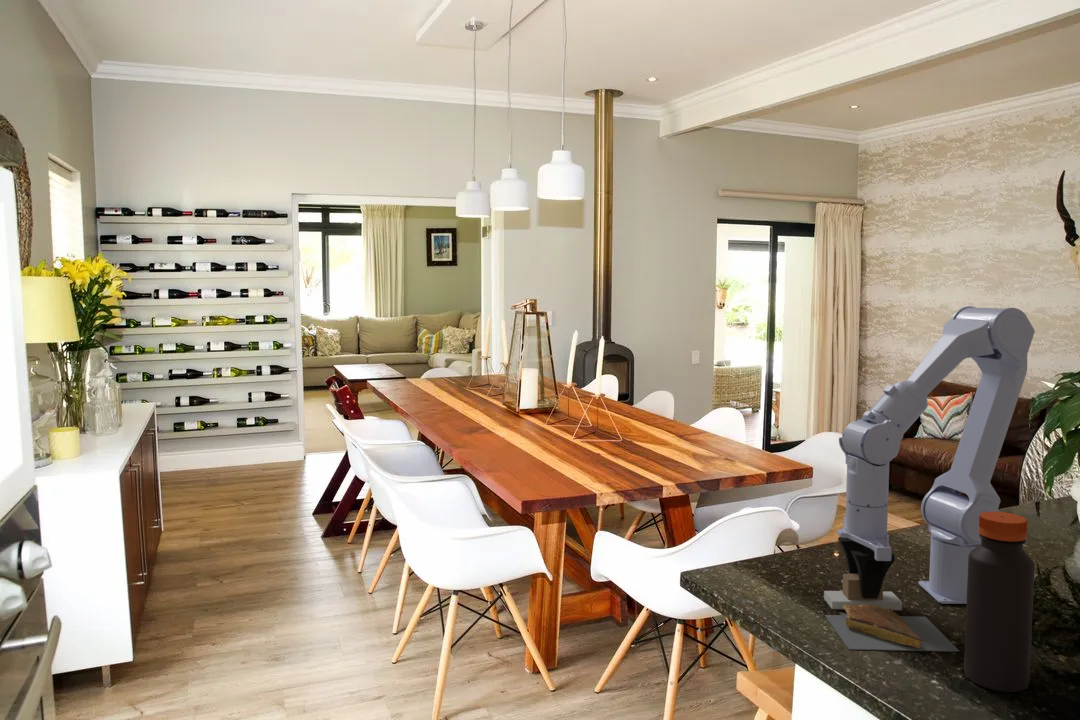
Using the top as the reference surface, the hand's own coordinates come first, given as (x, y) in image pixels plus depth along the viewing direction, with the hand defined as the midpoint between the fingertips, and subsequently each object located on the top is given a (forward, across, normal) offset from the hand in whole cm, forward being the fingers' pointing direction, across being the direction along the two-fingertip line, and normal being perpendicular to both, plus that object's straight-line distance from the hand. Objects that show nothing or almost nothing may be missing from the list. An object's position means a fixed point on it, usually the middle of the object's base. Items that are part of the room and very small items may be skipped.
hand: (864, 591), depth 116 cm
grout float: (+2, 0, 0) cm, 2 cm away
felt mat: (+2, +10, 0) cm, 10 cm away
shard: (+2, +9, 0) cm, 9 cm away
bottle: (+2, +22, +8) cm, 24 cm away
